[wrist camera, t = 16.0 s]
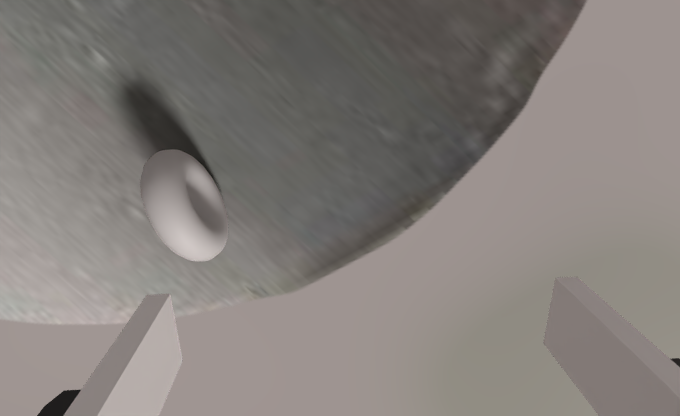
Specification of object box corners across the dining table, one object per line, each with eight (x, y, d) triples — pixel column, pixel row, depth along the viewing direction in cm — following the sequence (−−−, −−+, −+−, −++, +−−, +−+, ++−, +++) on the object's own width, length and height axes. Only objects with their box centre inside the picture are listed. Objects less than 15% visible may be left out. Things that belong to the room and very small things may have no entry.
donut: (162, 149, 40) (110, 173, 30) (195, 134, 39) (152, 154, 30) (213, 240, 42) (179, 288, 33) (244, 227, 42) (219, 273, 33)
